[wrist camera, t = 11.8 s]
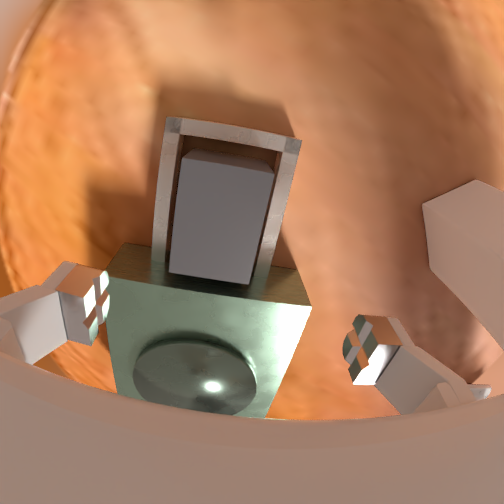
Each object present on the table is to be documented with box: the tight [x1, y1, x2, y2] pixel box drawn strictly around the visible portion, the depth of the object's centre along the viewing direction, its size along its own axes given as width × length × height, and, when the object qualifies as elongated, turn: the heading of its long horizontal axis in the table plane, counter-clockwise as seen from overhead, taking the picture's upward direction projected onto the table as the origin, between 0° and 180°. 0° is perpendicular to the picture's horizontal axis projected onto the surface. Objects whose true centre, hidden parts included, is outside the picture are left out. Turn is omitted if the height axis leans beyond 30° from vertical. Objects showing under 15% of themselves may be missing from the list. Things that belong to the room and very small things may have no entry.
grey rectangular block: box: [169, 148, 275, 285], centre depth 19 cm, size 5×7×5 cm
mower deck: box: [105, 116, 312, 418], centre depth 22 cm, size 14×26×6 cm, turn 168°
